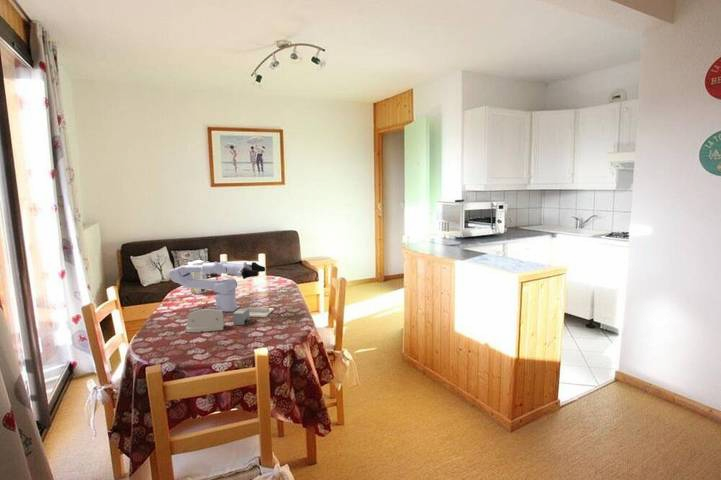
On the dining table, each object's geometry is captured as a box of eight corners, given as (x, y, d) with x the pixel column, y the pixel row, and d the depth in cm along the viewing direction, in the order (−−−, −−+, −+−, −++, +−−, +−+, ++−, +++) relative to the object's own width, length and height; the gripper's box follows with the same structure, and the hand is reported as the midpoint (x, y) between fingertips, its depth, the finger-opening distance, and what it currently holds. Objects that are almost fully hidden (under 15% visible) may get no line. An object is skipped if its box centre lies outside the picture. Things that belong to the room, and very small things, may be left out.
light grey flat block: (185, 333, 182) (184, 310, 184) (187, 332, 186) (187, 310, 188) (223, 329, 184) (223, 307, 186) (225, 329, 189) (225, 307, 191)
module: (233, 324, 190) (232, 313, 190) (240, 319, 197) (239, 308, 196) (243, 324, 190) (242, 313, 189) (249, 319, 196) (249, 308, 196)
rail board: (239, 316, 202) (238, 311, 201) (248, 308, 212) (248, 304, 212) (265, 317, 199) (265, 312, 199) (274, 309, 210) (273, 305, 210)
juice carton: (209, 291, 247) (206, 260, 244) (196, 295, 240) (193, 263, 237) (201, 289, 251) (198, 259, 248) (189, 293, 244) (185, 262, 241)
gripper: (228, 265, 200) (253, 268, 197) (243, 257, 213) (267, 259, 210) (229, 279, 201) (254, 281, 198) (244, 270, 215) (268, 272, 212)
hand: (261, 271), depth 204 cm, fingers open, 7 cm apart
